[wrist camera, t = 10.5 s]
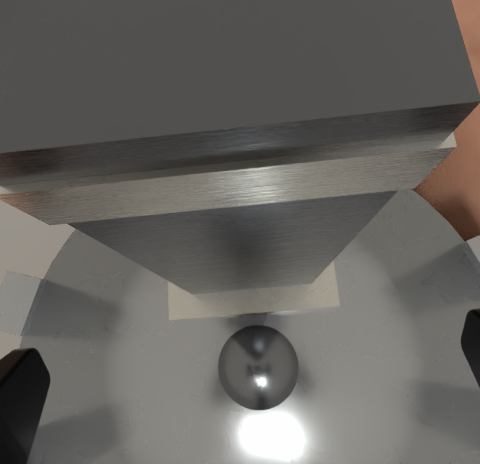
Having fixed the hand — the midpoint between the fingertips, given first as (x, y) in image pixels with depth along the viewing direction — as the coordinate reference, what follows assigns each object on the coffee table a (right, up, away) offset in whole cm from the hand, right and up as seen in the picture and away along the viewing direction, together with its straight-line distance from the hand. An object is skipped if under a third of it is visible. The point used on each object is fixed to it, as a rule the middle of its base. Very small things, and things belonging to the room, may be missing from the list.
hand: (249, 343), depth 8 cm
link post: (0, +2, +8) cm, 9 cm away
